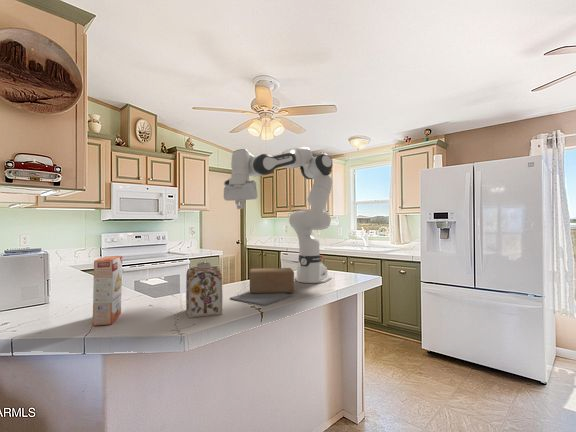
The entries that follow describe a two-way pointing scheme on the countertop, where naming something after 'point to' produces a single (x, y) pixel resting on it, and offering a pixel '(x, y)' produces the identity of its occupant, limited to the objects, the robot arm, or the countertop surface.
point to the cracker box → (107, 290)
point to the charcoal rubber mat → (261, 298)
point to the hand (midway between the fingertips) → (240, 209)
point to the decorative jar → (203, 290)
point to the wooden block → (271, 280)
